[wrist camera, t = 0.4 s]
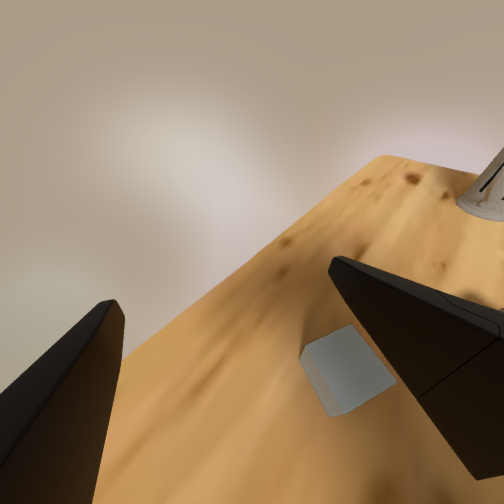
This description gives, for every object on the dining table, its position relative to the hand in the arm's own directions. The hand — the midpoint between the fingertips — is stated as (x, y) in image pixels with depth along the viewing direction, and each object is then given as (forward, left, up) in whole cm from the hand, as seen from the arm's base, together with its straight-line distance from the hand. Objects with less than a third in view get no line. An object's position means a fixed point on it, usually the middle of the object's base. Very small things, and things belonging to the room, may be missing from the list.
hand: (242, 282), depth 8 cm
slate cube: (-3, -7, -17) cm, 18 cm away
